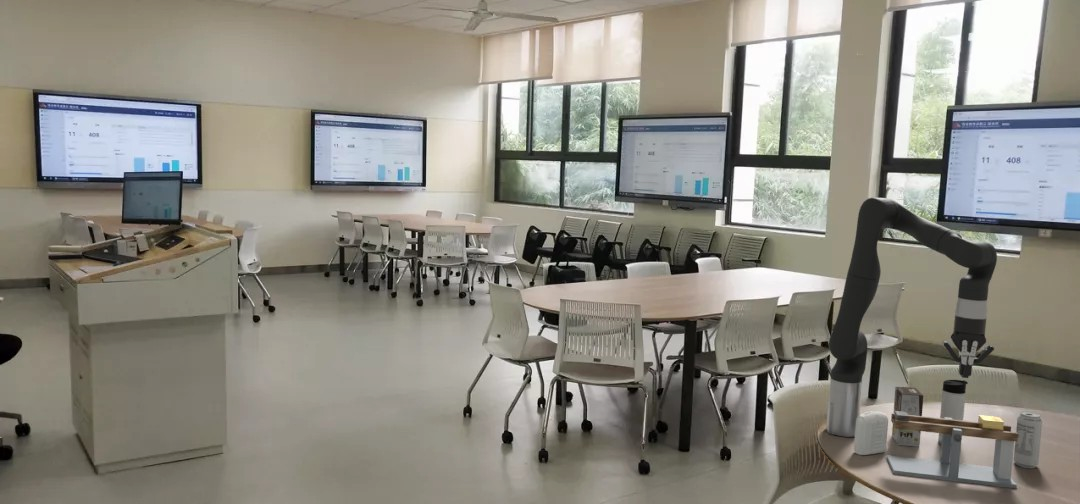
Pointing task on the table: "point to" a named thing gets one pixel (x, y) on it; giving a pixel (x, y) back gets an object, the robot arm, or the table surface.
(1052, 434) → the table surface
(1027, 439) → the energy drink can
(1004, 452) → the stand
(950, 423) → the beam
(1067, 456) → the table surface
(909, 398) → the coffee box
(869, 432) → the photo printer
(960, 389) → the travel mug
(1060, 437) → the table surface
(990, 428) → the gold metal cube
